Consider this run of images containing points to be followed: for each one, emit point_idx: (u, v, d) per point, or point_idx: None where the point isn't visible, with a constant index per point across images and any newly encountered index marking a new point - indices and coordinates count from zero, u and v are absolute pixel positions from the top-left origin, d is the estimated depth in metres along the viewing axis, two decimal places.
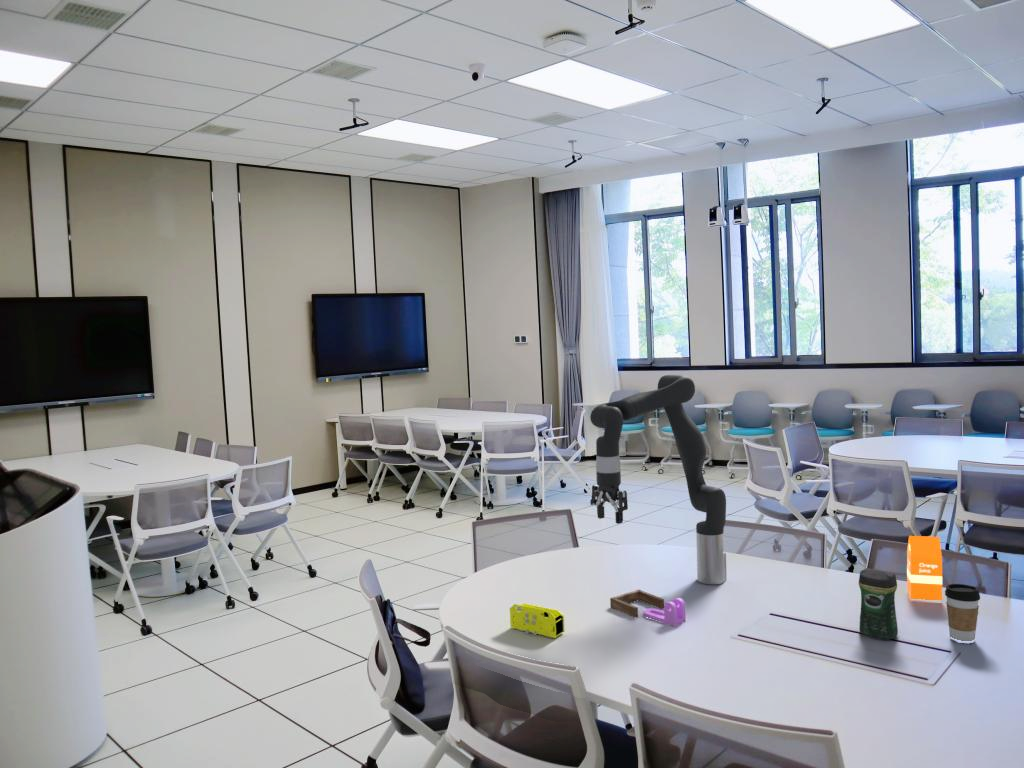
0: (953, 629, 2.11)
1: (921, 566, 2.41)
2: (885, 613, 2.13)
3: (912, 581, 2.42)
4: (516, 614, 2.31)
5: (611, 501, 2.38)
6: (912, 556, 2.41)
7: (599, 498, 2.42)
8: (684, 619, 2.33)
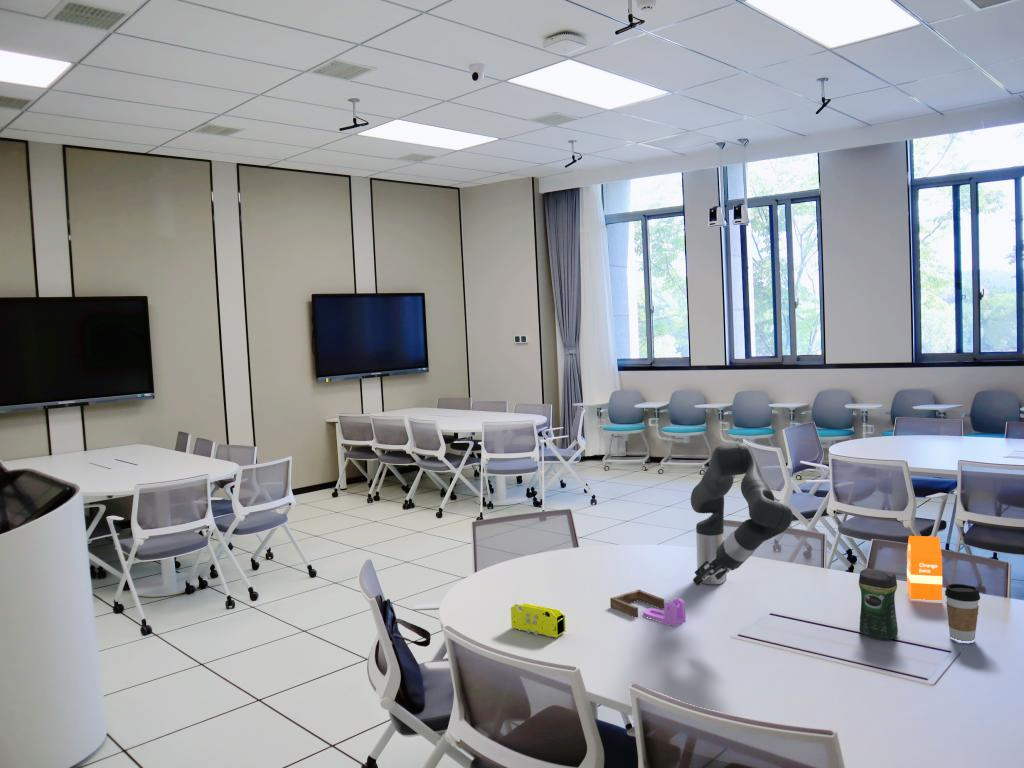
0: (953, 629, 2.11)
1: (921, 566, 2.41)
2: (885, 613, 2.13)
3: (912, 581, 2.42)
4: (517, 614, 2.31)
5: (729, 569, 2.16)
6: (912, 556, 2.41)
7: (715, 574, 2.13)
8: (684, 619, 2.33)
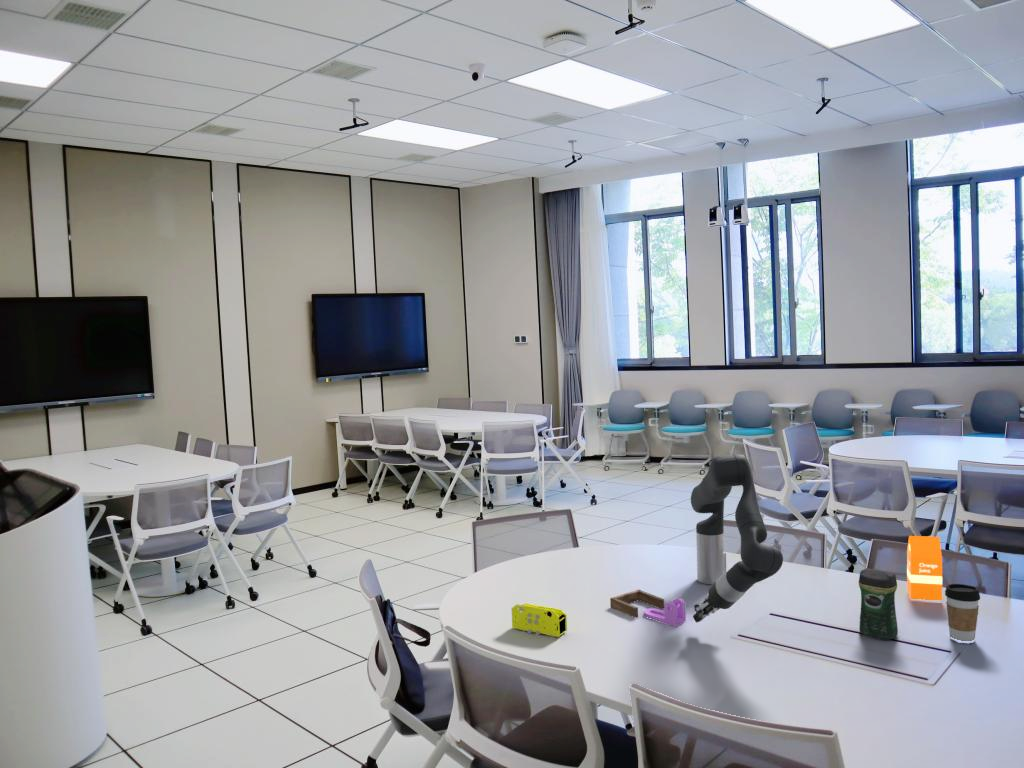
0: (953, 629, 2.11)
1: (921, 566, 2.41)
2: (885, 613, 2.13)
3: (912, 581, 2.42)
4: (518, 614, 2.31)
5: (715, 611, 2.20)
6: (912, 556, 2.41)
7: (710, 612, 2.19)
8: (684, 619, 2.33)
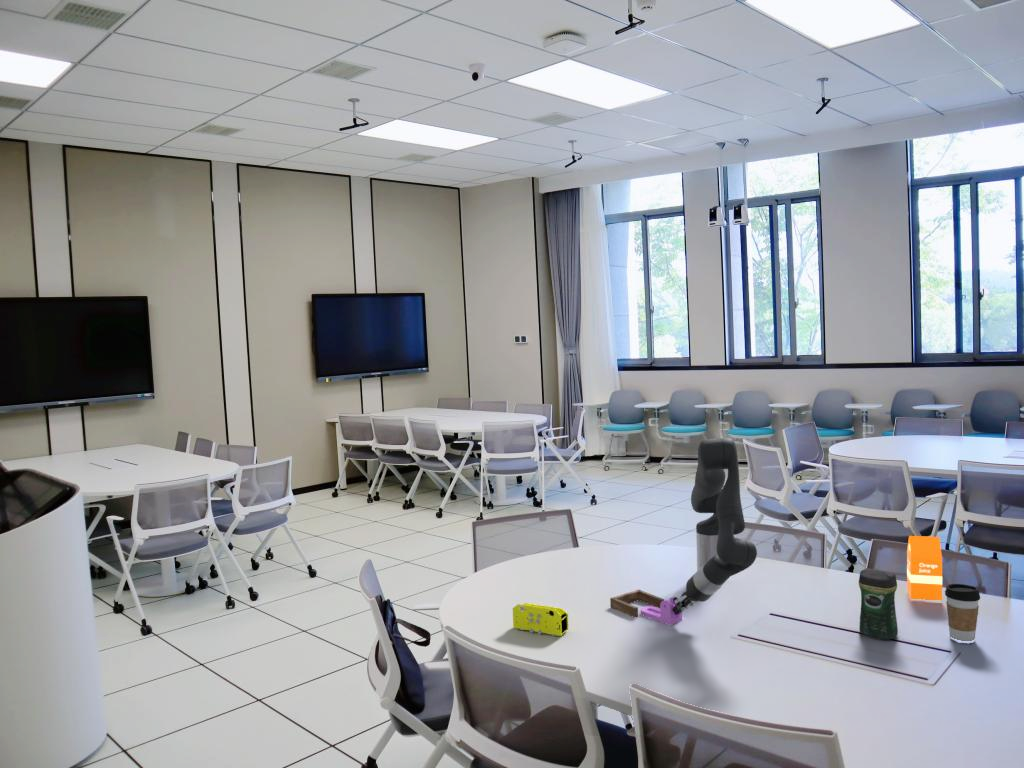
0: (953, 629, 2.11)
1: (921, 566, 2.41)
2: (885, 613, 2.13)
3: (912, 581, 2.42)
4: (519, 614, 2.31)
5: (693, 603, 2.27)
6: (912, 556, 2.41)
7: (689, 605, 2.26)
8: (680, 617, 2.34)
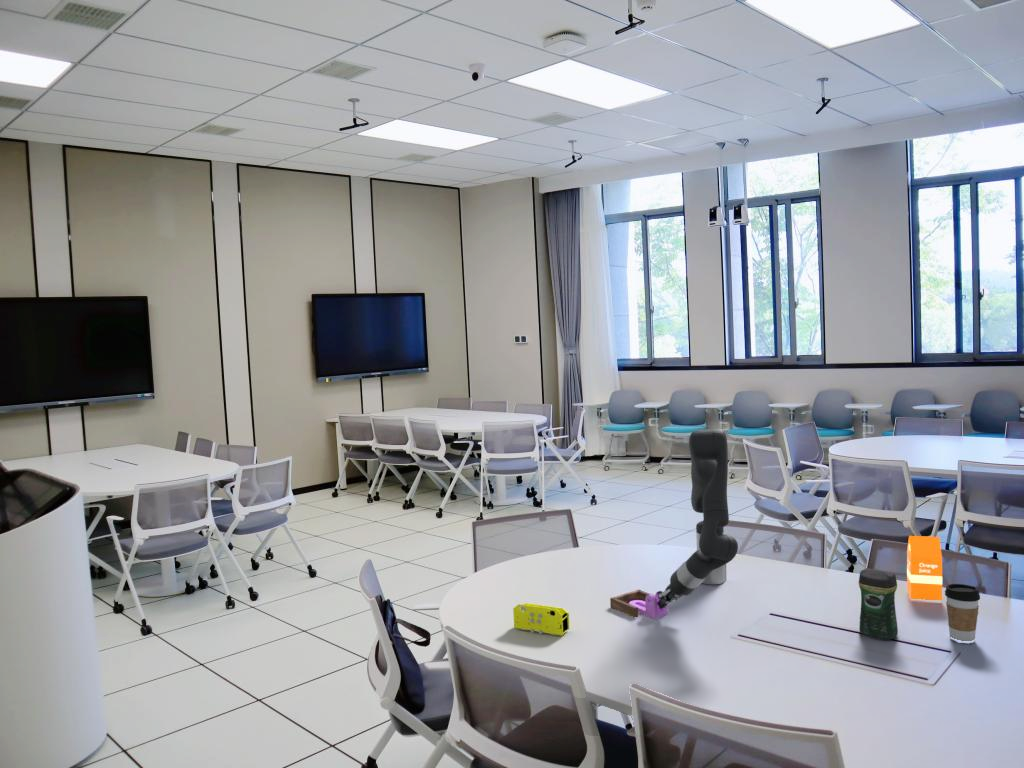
0: (953, 629, 2.11)
1: (921, 566, 2.41)
2: (885, 613, 2.13)
3: (912, 581, 2.42)
4: (520, 614, 2.31)
5: (677, 597, 2.32)
6: (912, 556, 2.41)
7: (673, 599, 2.31)
8: (666, 612, 2.39)
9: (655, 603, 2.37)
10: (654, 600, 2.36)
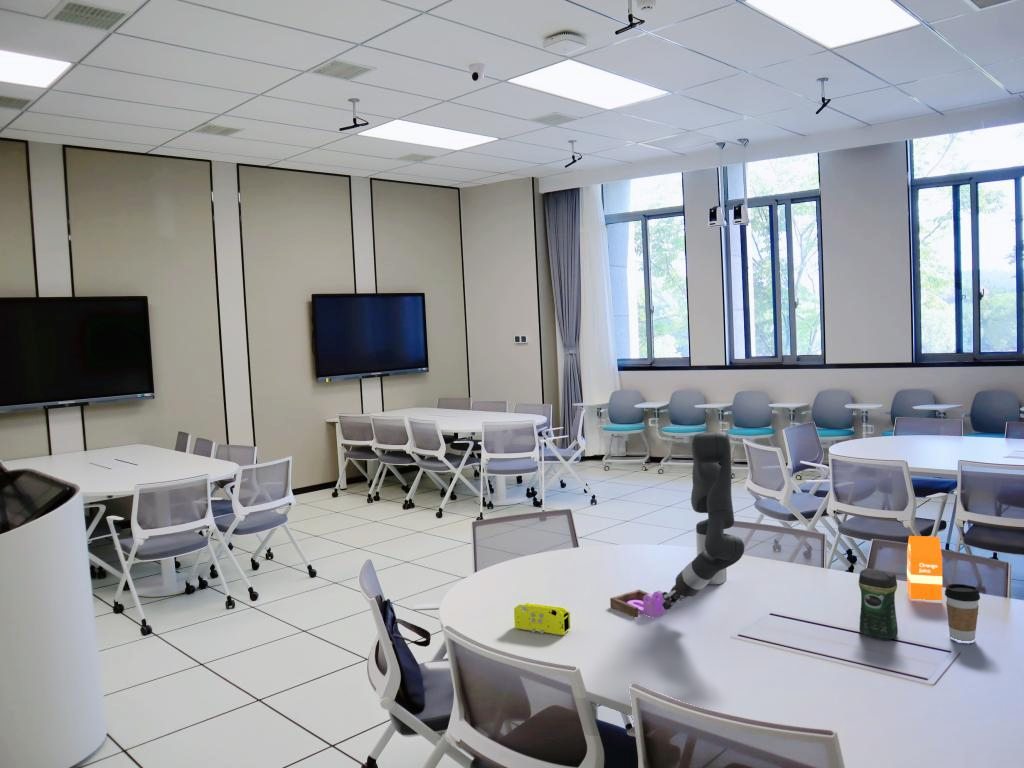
0: (953, 629, 2.11)
1: (921, 566, 2.41)
2: (885, 613, 2.13)
3: (912, 581, 2.42)
4: (521, 614, 2.31)
5: (683, 598, 2.30)
6: (912, 556, 2.41)
7: (678, 600, 2.29)
8: (663, 612, 2.40)
9: (653, 603, 2.37)
10: (652, 600, 2.37)
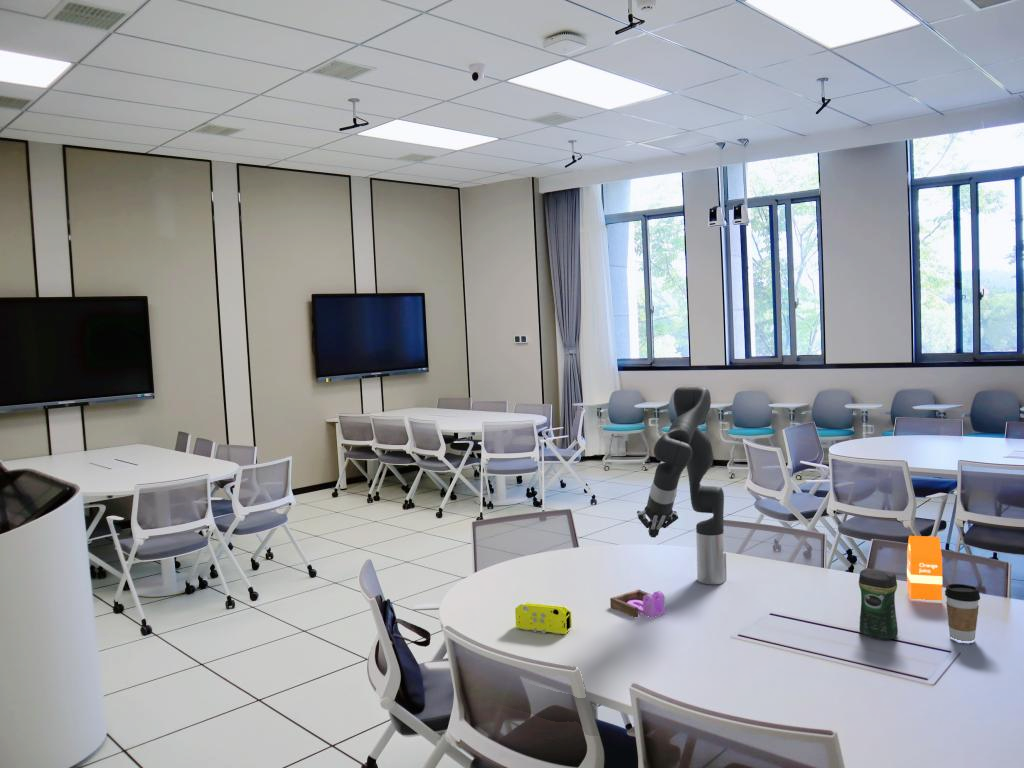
0: (953, 629, 2.11)
1: (921, 566, 2.41)
2: (885, 613, 2.13)
3: (912, 581, 2.42)
4: (522, 614, 2.31)
5: (661, 522, 2.33)
6: (912, 556, 2.41)
7: (654, 521, 2.33)
8: (663, 612, 2.40)
9: (652, 603, 2.37)
10: (651, 600, 2.37)
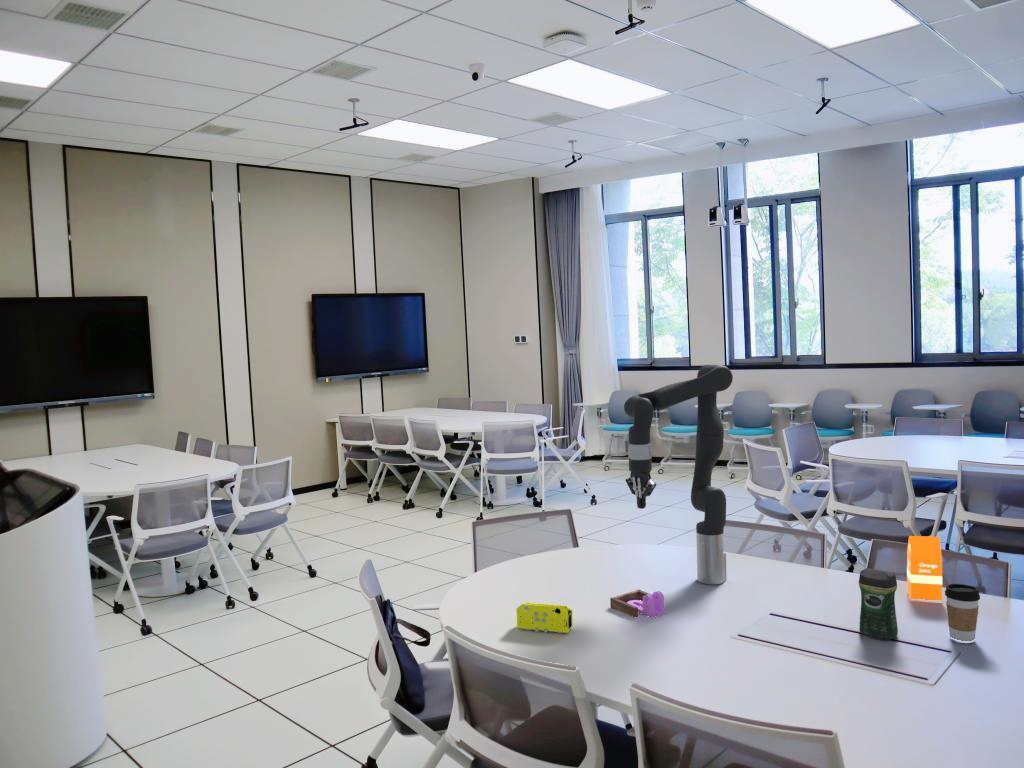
0: (953, 629, 2.11)
1: (921, 566, 2.41)
2: (885, 613, 2.13)
3: (912, 581, 2.42)
4: (524, 614, 2.31)
5: (639, 487, 2.55)
6: (912, 556, 2.41)
7: (634, 486, 2.57)
8: (663, 612, 2.40)
9: (652, 603, 2.37)
10: (651, 600, 2.37)
